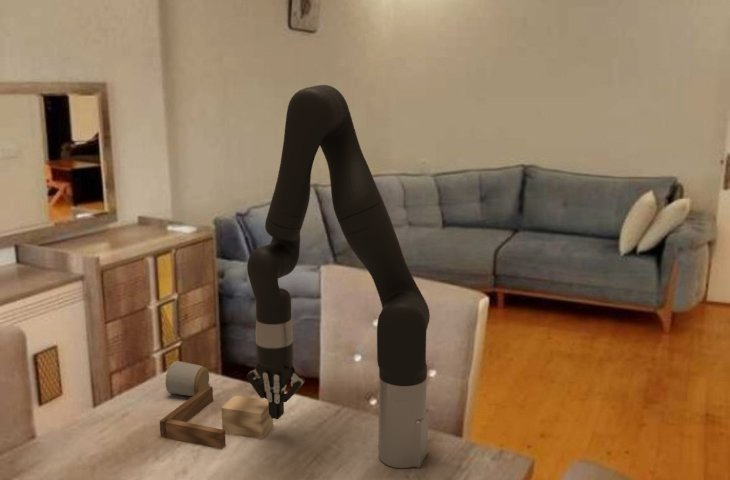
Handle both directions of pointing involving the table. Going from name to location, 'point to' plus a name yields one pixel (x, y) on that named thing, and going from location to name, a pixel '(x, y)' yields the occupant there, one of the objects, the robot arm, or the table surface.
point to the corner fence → (189, 432)
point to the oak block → (246, 417)
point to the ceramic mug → (186, 378)
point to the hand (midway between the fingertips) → (276, 417)
